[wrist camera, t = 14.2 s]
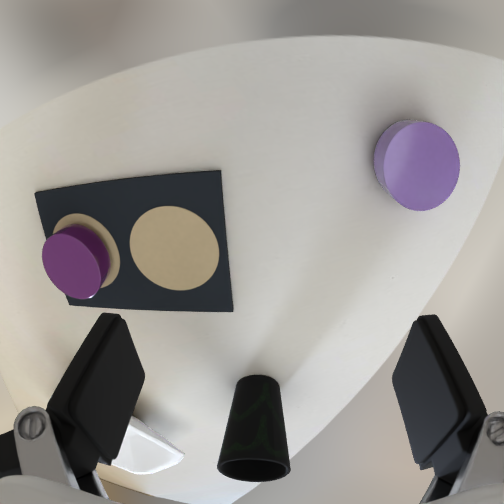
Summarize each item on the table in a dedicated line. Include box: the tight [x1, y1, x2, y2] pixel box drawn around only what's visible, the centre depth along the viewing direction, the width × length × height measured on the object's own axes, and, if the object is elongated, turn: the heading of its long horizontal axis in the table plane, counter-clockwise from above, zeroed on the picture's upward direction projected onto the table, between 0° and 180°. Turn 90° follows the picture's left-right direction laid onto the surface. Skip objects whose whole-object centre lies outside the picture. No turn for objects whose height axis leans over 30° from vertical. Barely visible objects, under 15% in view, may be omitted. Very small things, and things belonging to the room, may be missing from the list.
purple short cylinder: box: [42, 224, 111, 299], centre depth 27 cm, size 7×7×3 cm
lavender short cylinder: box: [374, 119, 460, 211], centre depth 22 cm, size 7×7×3 cm
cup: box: [217, 375, 291, 482], centre depth 31 cm, size 8×8×12 cm
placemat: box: [34, 170, 233, 312], centre depth 28 cm, size 14×20×1 cm
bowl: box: [50, 396, 185, 474], centre depth 41 cm, size 22×23×6 cm
